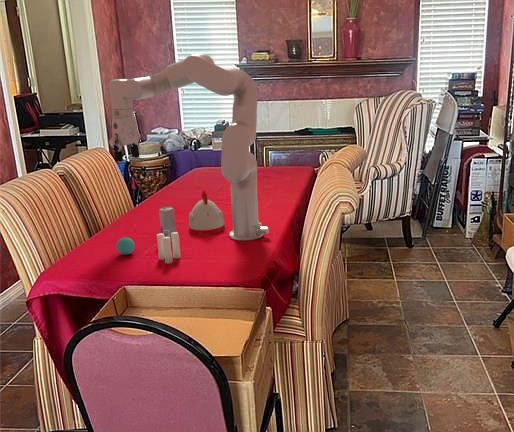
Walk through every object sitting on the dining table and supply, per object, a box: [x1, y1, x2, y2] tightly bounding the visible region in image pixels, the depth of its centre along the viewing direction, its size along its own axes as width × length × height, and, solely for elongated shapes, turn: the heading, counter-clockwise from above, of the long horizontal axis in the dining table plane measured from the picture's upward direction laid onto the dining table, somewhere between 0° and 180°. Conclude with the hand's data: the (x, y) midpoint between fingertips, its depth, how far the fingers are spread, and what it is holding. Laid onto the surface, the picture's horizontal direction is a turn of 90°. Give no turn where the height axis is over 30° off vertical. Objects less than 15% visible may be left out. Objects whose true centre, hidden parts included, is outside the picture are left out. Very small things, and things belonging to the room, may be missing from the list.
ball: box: [116, 236, 135, 256], centre depth 193 cm, size 6×6×6 cm
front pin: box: [156, 233, 165, 261], centre depth 186 cm, size 2×2×8 cm
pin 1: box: [163, 237, 174, 265], centre depth 182 cm, size 2×2×8 cm
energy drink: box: [158, 206, 177, 242], centre depth 205 cm, size 5×5×12 cm
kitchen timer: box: [188, 190, 226, 235], centre depth 216 cm, size 14×14×15 cm
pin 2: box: [171, 231, 181, 259], centre depth 187 cm, size 2×2×8 cm
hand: (127, 159), depth 211 cm, fingers open, 9 cm apart
